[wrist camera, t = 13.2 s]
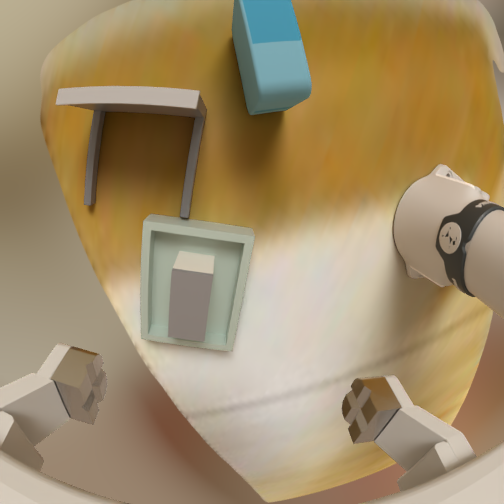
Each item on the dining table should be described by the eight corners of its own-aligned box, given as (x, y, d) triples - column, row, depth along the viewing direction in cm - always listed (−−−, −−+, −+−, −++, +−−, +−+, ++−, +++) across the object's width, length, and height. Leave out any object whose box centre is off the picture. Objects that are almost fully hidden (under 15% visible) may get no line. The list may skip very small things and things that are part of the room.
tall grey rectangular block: (214, 255, 36) (213, 276, 30) (206, 315, 39) (204, 341, 33) (179, 250, 35) (171, 270, 30) (174, 310, 38) (167, 336, 33)
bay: (207, 108, 30) (199, 90, 20) (189, 215, 35) (176, 242, 25) (100, 101, 28) (58, 88, 18) (89, 202, 33) (46, 224, 23)
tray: (252, 228, 36) (254, 236, 33) (231, 336, 42) (232, 351, 39) (150, 213, 34) (143, 220, 31) (146, 324, 40) (141, 338, 37)
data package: (285, 111, 31) (315, 95, 20) (248, 117, 31) (260, 101, 20) (267, 27, 27) (286, -19, 16) (231, 31, 27) (235, -16, 16)
